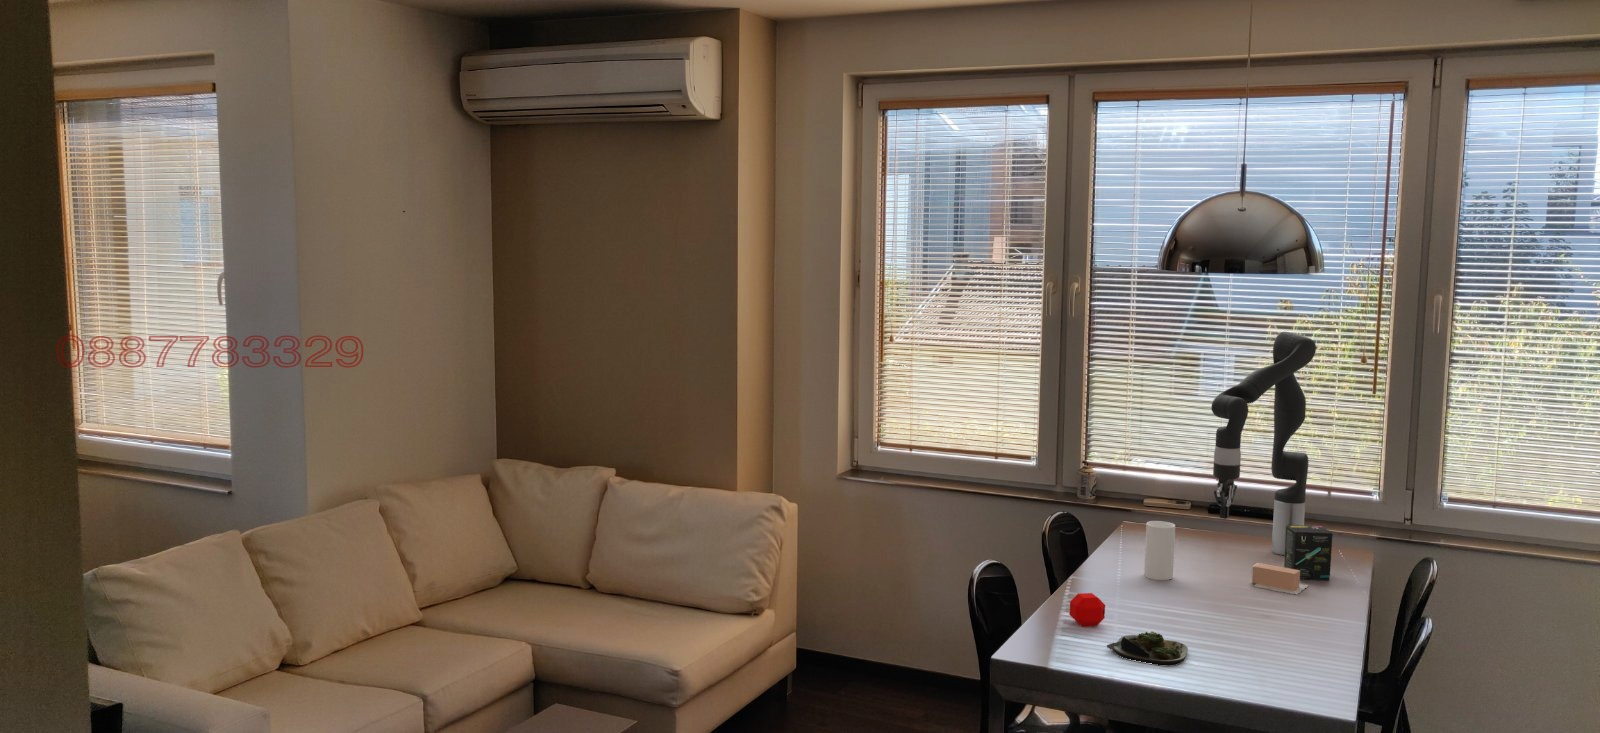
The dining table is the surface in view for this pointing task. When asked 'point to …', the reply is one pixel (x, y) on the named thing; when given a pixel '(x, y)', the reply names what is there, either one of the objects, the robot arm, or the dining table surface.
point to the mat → (1298, 590)
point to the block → (1275, 576)
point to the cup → (1159, 550)
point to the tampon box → (1308, 551)
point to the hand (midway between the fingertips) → (1224, 517)
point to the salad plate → (1150, 649)
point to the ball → (1087, 609)
